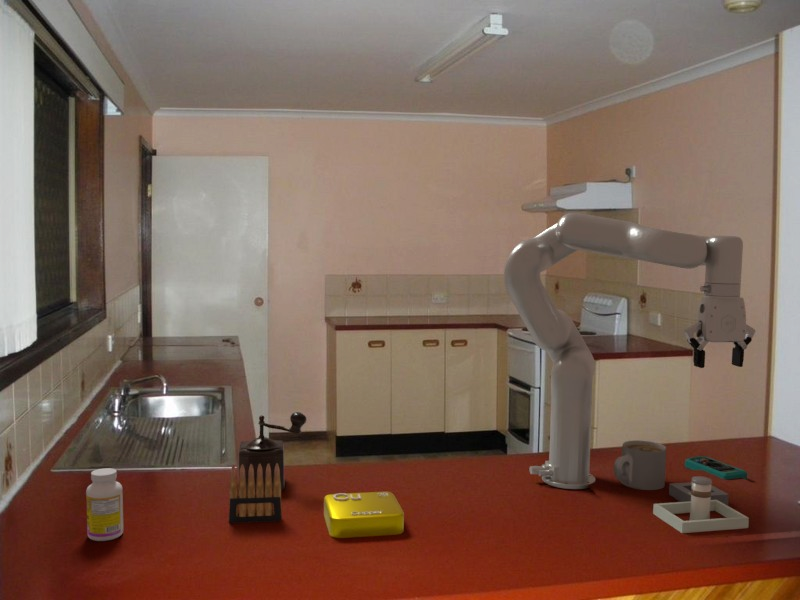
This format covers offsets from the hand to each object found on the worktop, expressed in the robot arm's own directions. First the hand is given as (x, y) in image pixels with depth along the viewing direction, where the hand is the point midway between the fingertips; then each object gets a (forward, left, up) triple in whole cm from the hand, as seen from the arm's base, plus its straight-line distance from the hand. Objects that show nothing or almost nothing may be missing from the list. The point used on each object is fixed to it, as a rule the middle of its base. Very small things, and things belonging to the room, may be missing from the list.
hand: (718, 366), depth 185 cm
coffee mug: (-14, +9, -31) cm, 35 cm away
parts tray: (-13, -15, -30) cm, 36 cm away
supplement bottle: (-132, +1, -31) cm, 135 cm away
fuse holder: (-6, -4, -30) cm, 31 cm away
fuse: (-13, -15, -30) cm, 36 cm away
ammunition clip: (-103, +4, -31) cm, 108 cm away
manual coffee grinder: (-98, +26, -31) cm, 106 cm away
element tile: (-81, -1, -31) cm, 87 cm away
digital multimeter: (+11, +16, -31) cm, 36 cm away
